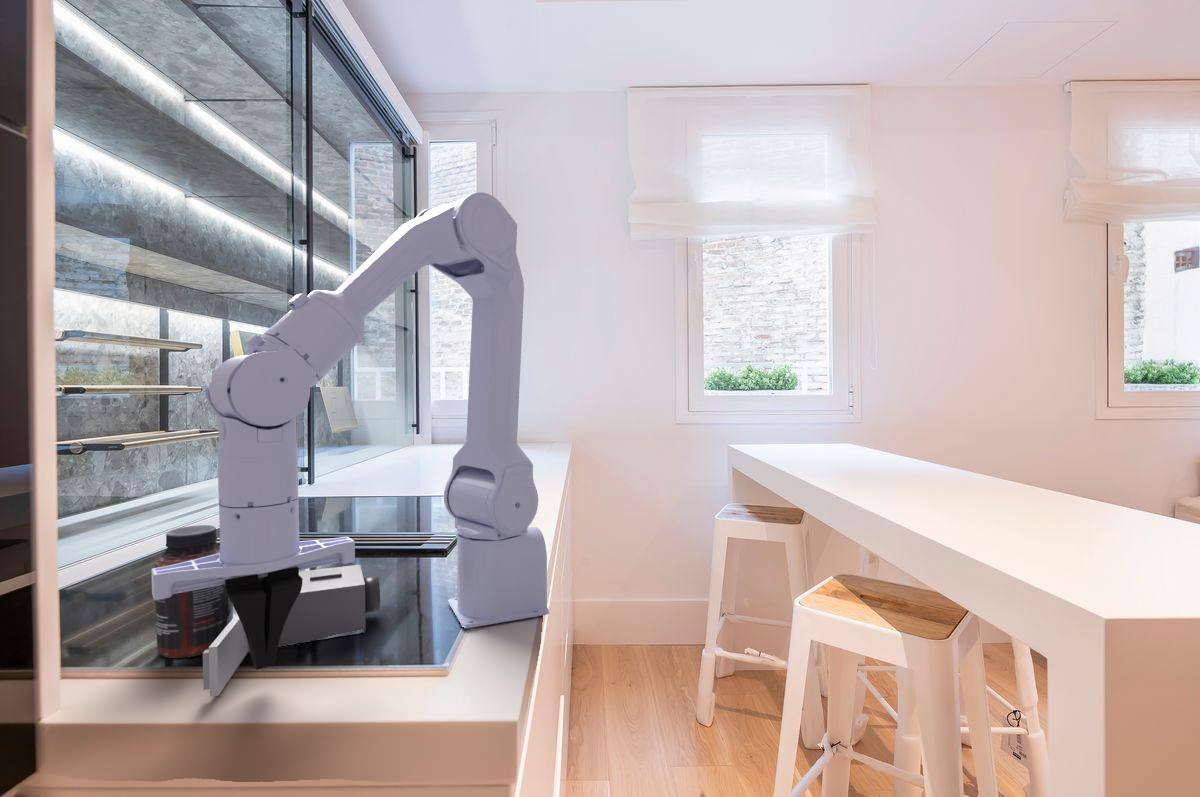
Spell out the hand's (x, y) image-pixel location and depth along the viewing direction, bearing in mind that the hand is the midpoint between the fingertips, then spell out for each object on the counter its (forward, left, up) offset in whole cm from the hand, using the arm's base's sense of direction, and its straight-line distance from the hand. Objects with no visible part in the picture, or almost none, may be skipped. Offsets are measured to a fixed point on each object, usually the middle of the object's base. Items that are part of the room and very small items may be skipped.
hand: (263, 663), depth 51 cm
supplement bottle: (+7, -11, -2) cm, 13 cm away
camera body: (-3, -11, -2) cm, 12 cm away
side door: (+3, -3, -2) cm, 5 cm away
